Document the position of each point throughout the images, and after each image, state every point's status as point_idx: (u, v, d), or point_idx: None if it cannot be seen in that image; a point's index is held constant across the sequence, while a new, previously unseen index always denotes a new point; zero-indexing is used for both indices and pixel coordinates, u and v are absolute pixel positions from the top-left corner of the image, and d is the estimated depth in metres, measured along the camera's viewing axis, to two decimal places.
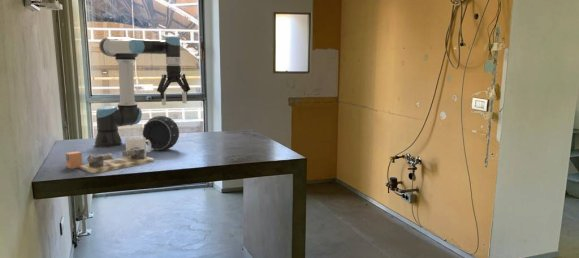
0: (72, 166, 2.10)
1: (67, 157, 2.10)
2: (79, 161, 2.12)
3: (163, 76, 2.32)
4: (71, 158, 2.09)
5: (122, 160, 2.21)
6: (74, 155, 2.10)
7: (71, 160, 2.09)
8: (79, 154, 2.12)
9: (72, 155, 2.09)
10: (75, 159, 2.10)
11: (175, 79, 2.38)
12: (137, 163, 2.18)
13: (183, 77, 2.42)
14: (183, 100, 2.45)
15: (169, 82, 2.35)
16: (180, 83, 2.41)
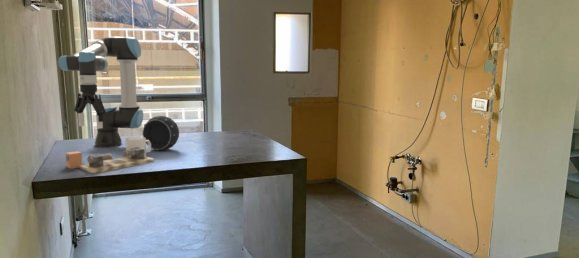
0: (72, 166, 2.10)
1: (67, 157, 2.10)
2: (79, 161, 2.12)
3: None
4: (71, 158, 2.09)
5: (122, 160, 2.21)
6: (74, 155, 2.10)
7: (71, 160, 2.09)
8: (79, 154, 2.12)
9: (72, 155, 2.09)
10: (75, 159, 2.10)
11: None
12: (137, 163, 2.18)
13: (94, 98, 2.09)
14: None
15: (81, 102, 2.13)
16: (92, 105, 2.10)
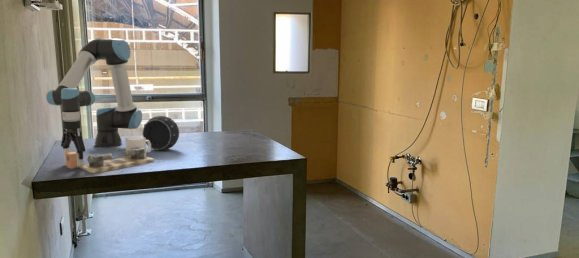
0: (72, 166, 2.10)
1: (67, 157, 2.10)
2: None
3: None
4: (71, 158, 2.09)
5: (122, 160, 2.21)
6: (74, 155, 2.10)
7: (71, 160, 2.09)
8: None
9: (72, 155, 2.09)
10: (75, 159, 2.10)
11: None
12: (137, 163, 2.18)
13: (75, 135, 2.06)
14: None
15: (65, 138, 2.12)
16: None
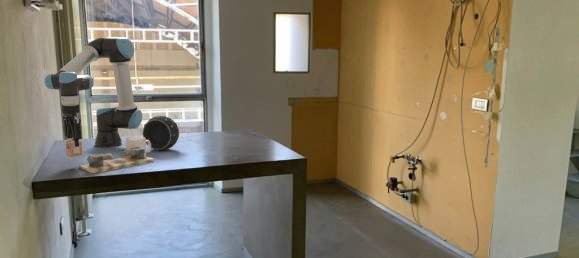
0: (72, 155, 2.09)
1: (67, 146, 2.09)
2: None
3: None
4: (71, 146, 2.09)
5: (122, 160, 2.21)
6: None
7: (71, 149, 2.09)
8: (79, 143, 2.11)
9: (72, 144, 2.09)
10: None
11: None
12: (137, 163, 2.18)
13: (73, 122, 2.05)
14: None
15: (67, 125, 2.10)
16: (71, 127, 2.08)
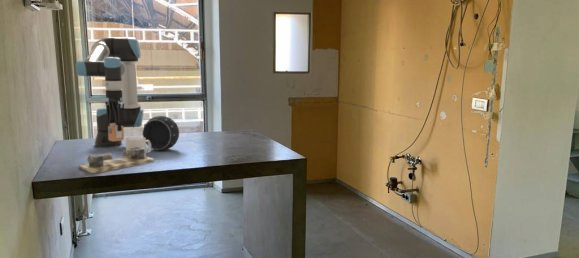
0: (114, 139, 2.12)
1: (110, 130, 2.12)
2: None
3: None
4: (114, 130, 2.12)
5: (122, 160, 2.21)
6: None
7: (114, 133, 2.12)
8: (121, 127, 2.14)
9: (115, 128, 2.12)
10: None
11: None
12: (137, 163, 2.18)
13: (117, 106, 2.09)
14: None
15: (109, 110, 2.13)
16: (114, 111, 2.11)
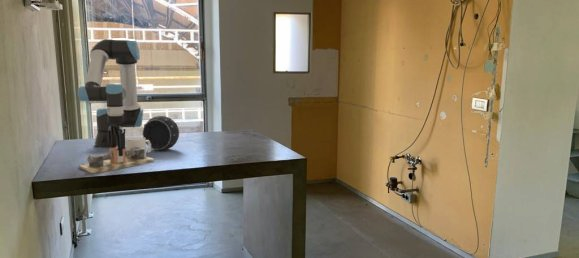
0: (116, 161, 2.14)
1: (111, 152, 2.14)
2: None
3: None
4: (115, 153, 2.13)
5: None
6: None
7: (115, 155, 2.13)
8: None
9: (116, 150, 2.13)
10: None
11: None
12: (137, 163, 2.18)
13: (119, 132, 2.11)
14: None
15: (111, 134, 2.15)
16: (115, 137, 2.13)
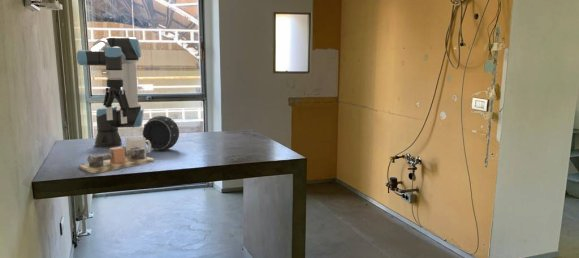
0: (116, 161, 2.14)
1: (111, 152, 2.14)
2: (122, 156, 2.16)
3: None
4: (115, 153, 2.13)
5: None
6: (118, 150, 2.14)
7: (115, 155, 2.13)
8: (122, 149, 2.16)
9: (116, 150, 2.13)
10: (119, 154, 2.15)
11: None
12: (137, 163, 2.18)
13: (119, 93, 2.10)
14: None
15: (108, 97, 2.16)
16: (117, 99, 2.12)
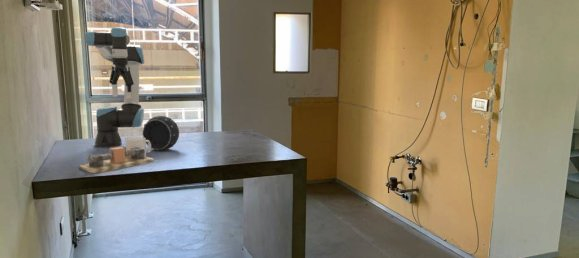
0: (116, 161, 2.14)
1: (111, 152, 2.14)
2: (122, 156, 2.16)
3: None
4: (115, 153, 2.13)
5: None
6: (118, 150, 2.14)
7: (115, 155, 2.13)
8: (122, 149, 2.16)
9: (116, 150, 2.13)
10: (119, 154, 2.15)
11: (119, 72, 2.31)
12: (137, 163, 2.18)
13: (124, 70, 2.28)
14: None
15: (114, 74, 2.34)
16: (122, 76, 2.29)
